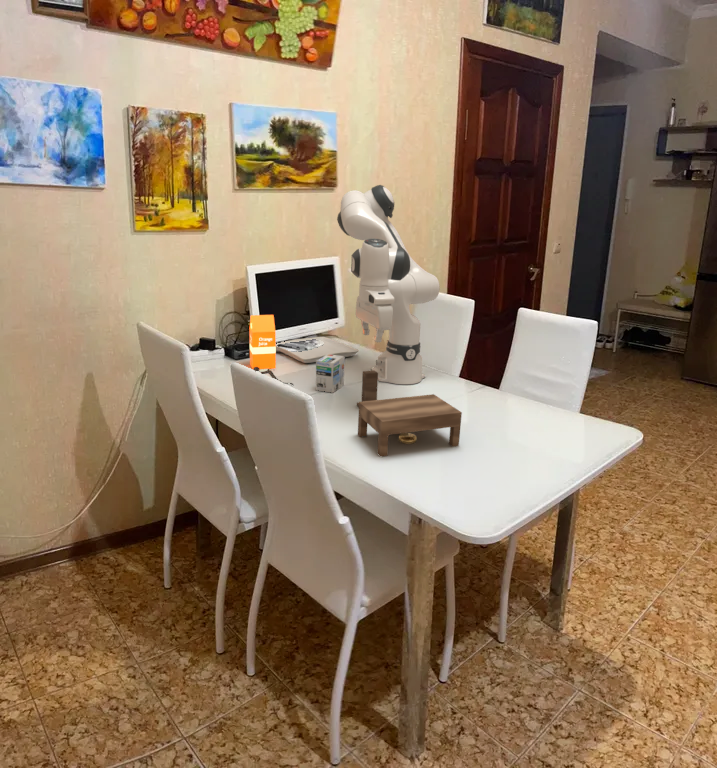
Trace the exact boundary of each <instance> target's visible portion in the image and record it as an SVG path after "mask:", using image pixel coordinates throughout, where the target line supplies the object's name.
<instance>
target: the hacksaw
mask: <svg viewBox="0 0 717 768" xmlns="http://www.w3.org/2000/svg"><path fill="white" fill-rule="evenodd" d="M253 369H254V371H255V370H256V371H259V372H261V374H267V373H268V374H269V375H270V377H272V379H273V378H275V379H277V380H279V379H278V377H277V376H276V375H275V374H274V372H273V371H272V369H267V370H264V371H260V370H261V369H260V368H259V367H254V368H253ZM253 369H252V370H253ZM256 371H255V372H256ZM279 381H281V382H282V380H279ZM288 383H290V384H288ZM285 384H286V385H291V386H292V385H293V386H294V383H292V382H284V385H285Z"/></svg>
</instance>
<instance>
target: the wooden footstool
mask: <svg viewBox="0 0 717 768" xmlns="http://www.w3.org/2000/svg"><path fill="white" fill-rule="evenodd" d="M358 403H359V407H358V416H357V417H358V421H357V422H358V423H357V436H358V437H359V438H363V437H362V436H367V437H368V426H370V427H371V428H372V429H373V430H374V431H376V432H377V433H378V436H377V453H378V454H379V455H380V456H382V457H387V456H388V453H389V452H388V450H389V449H388V447H389V436H390V435H391V436H392V435H400V434H402V433H415V432H422V431H430V430H439V429H446V428H449V439H448V440H449V441H448V445H450V446H451V447H453V448H454V447H459V446H460V438H461V437H460V436H461V424H462V414H463V412H462V411H460V410H459V409H457V408H456V407H455V406H453V405H451V404H450V403H448V402H446V401H445V400H443V399H442V398H440V397H439V396H437V395H436V394H434V393H433V394H426V395H425V394H423V395H414V396H404V397H394V398H385V399H383V398H382V399H377V400H373V401H363V402H362V401H358ZM377 453H376V454H377ZM378 454H377V455H378ZM379 455H378V456H379ZM380 456H379V457H380Z"/></svg>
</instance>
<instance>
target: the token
mask: <svg viewBox="0 0 717 768" xmlns="http://www.w3.org/2000/svg"><path fill="white" fill-rule="evenodd" d="M398 442H400V443H401V442H402V444H404V445H405V444H406V445H411V444H415V443H416V442H417V435H416V434H414V433H412V432H408V433H400V434H398Z"/></svg>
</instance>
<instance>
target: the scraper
mask: <svg viewBox="0 0 717 768" xmlns="http://www.w3.org/2000/svg"><path fill="white" fill-rule="evenodd" d="M361 383H362V384H361V402H363V401H373V400H378V386H379V385H378V384H379V381H378V373H377V372H376V371H374V370H373V371H371V370H363V371H362V381H361ZM356 406H357V407H358V408H359V402H356Z"/></svg>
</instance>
